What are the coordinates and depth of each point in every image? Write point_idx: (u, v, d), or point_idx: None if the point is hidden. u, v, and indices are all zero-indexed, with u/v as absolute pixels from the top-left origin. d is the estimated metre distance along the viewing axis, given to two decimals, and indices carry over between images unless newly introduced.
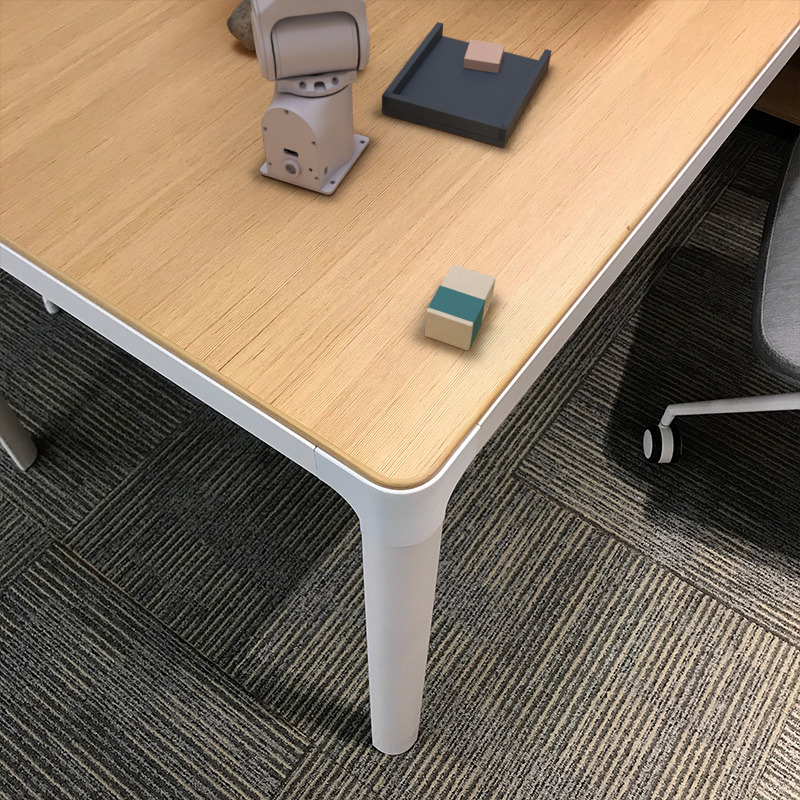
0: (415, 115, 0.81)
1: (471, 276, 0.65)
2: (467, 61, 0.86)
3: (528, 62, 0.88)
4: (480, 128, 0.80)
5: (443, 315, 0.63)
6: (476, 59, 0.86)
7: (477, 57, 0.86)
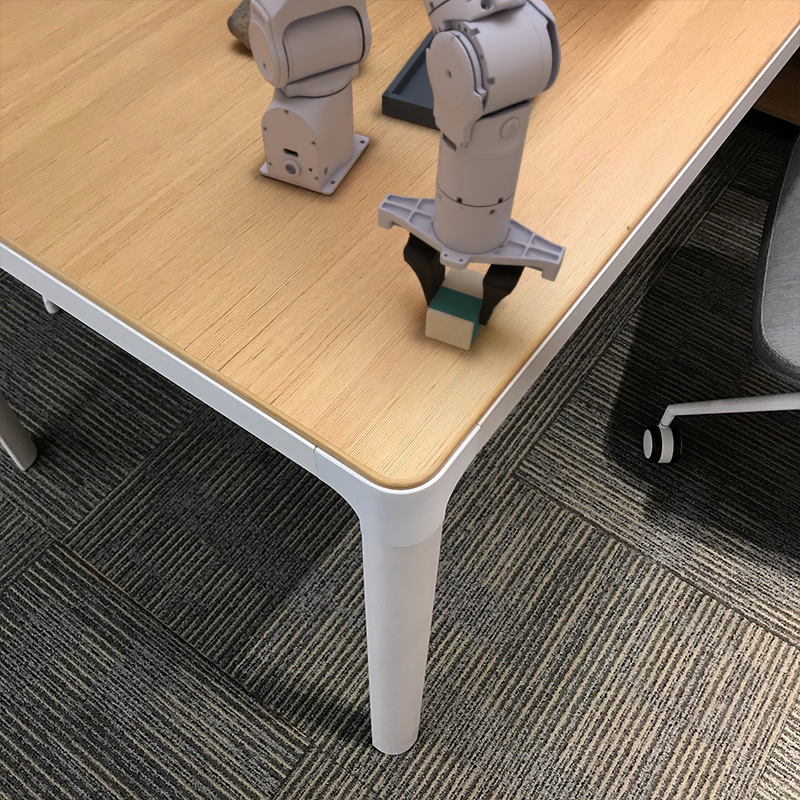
0: (415, 115, 0.81)
1: (471, 276, 0.65)
2: None
3: None
4: None
5: (443, 315, 0.63)
6: None
7: None
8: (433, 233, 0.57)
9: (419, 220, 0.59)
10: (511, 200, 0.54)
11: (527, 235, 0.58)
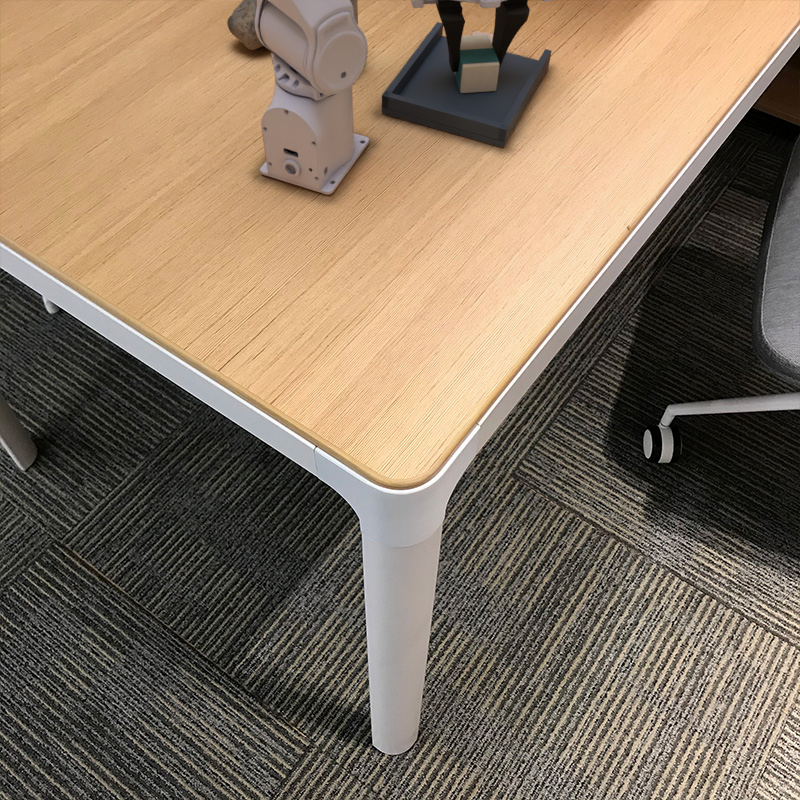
0: (415, 115, 0.81)
1: (472, 38, 0.85)
2: None
3: (528, 62, 0.88)
4: (480, 128, 0.80)
5: (476, 65, 0.82)
6: None
7: None
8: None
9: None
10: None
11: None
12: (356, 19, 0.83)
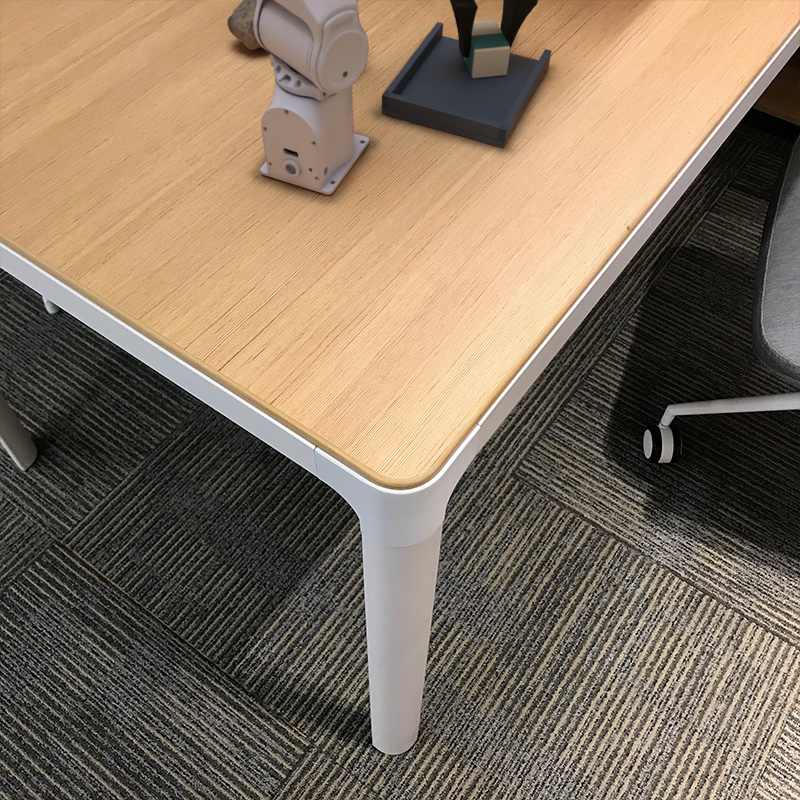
0: (415, 115, 0.81)
1: (480, 24, 0.86)
2: None
3: (528, 62, 0.88)
4: (480, 128, 0.80)
5: (488, 49, 0.83)
6: None
7: None
8: None
9: None
10: None
11: None
12: None
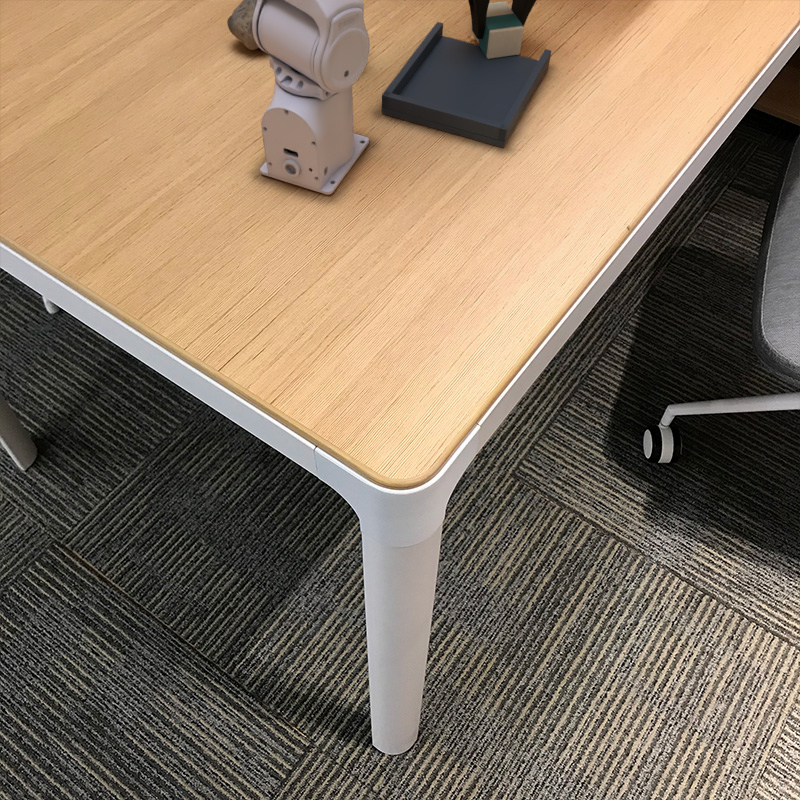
0: (415, 115, 0.81)
1: (492, 6, 0.89)
2: None
3: (528, 62, 0.88)
4: (480, 128, 0.80)
5: (502, 30, 0.86)
6: None
7: None
8: None
9: None
10: None
11: None
12: None
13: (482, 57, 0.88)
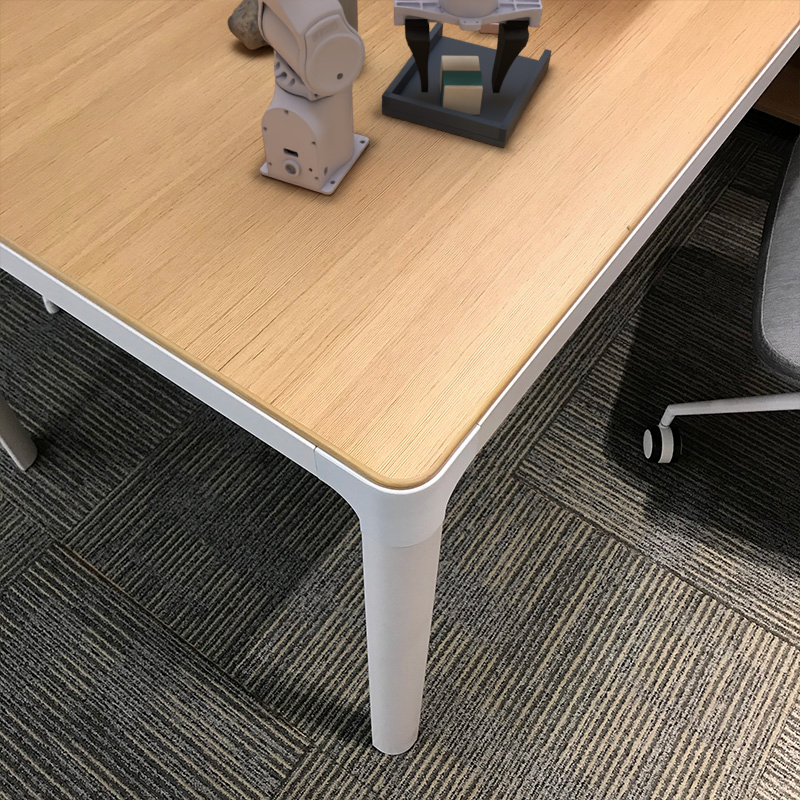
0: (415, 115, 0.81)
1: (460, 59, 0.82)
2: (484, 25, 0.92)
3: (528, 62, 0.88)
4: (480, 128, 0.80)
5: (458, 87, 0.79)
6: None
7: None
8: (445, 12, 0.74)
9: (427, 9, 0.75)
10: None
11: None
12: (356, 19, 0.83)
13: (482, 57, 0.88)
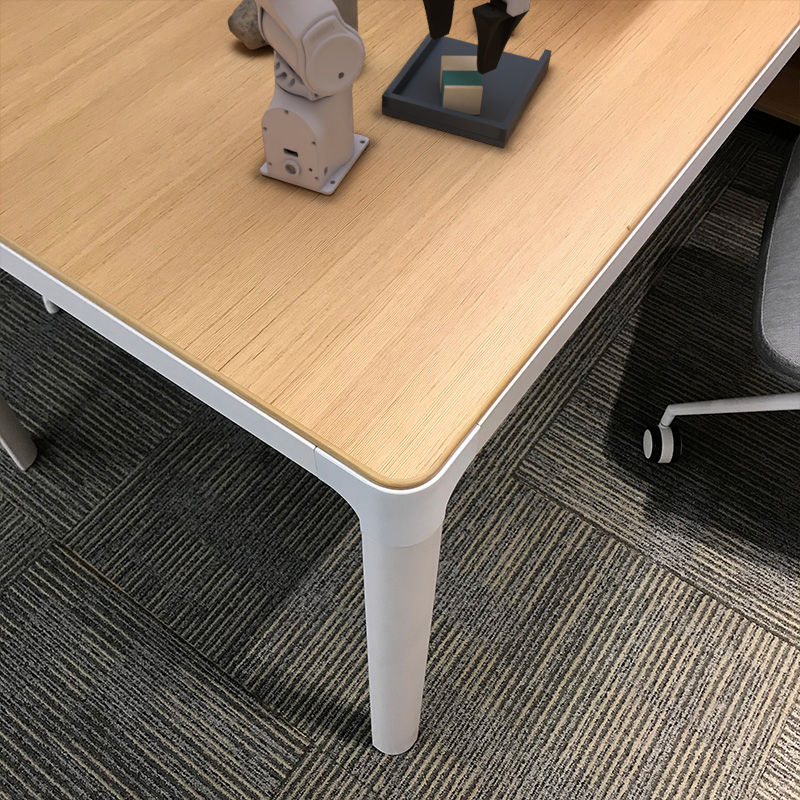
0: (415, 115, 0.81)
1: (460, 59, 0.82)
2: None
3: (528, 62, 0.88)
4: (480, 128, 0.80)
5: (458, 87, 0.79)
6: None
7: None
8: None
9: None
10: None
11: None
12: (356, 19, 0.83)
13: None
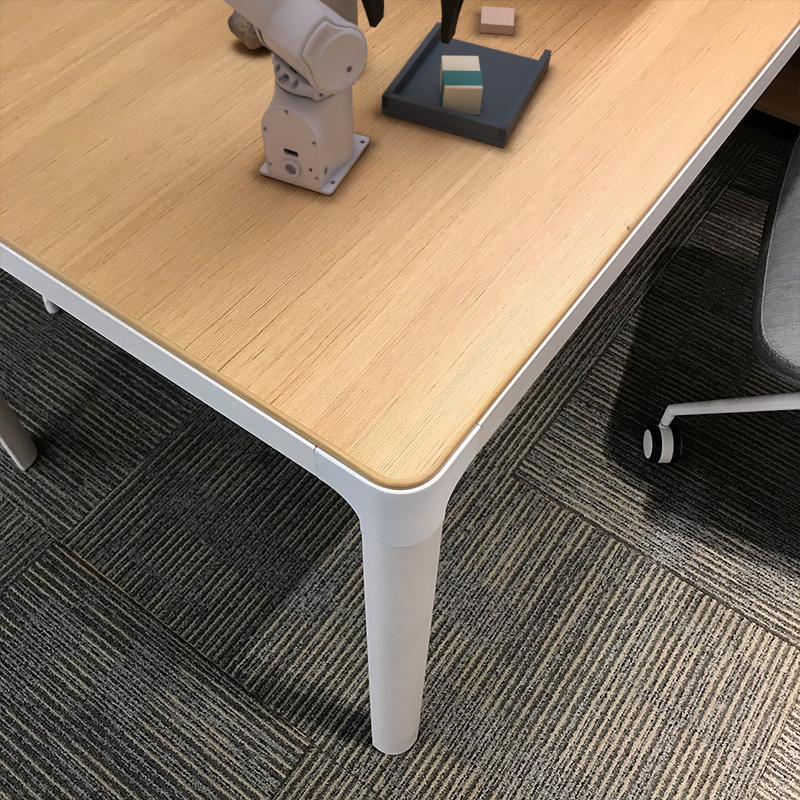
0: (415, 115, 0.81)
1: (460, 59, 0.82)
2: (484, 25, 0.92)
3: (528, 62, 0.88)
4: (480, 128, 0.80)
5: (458, 87, 0.79)
6: (492, 22, 0.92)
7: (492, 21, 0.92)
8: None
9: None
10: None
11: None
12: (356, 19, 0.83)
13: (482, 57, 0.88)
